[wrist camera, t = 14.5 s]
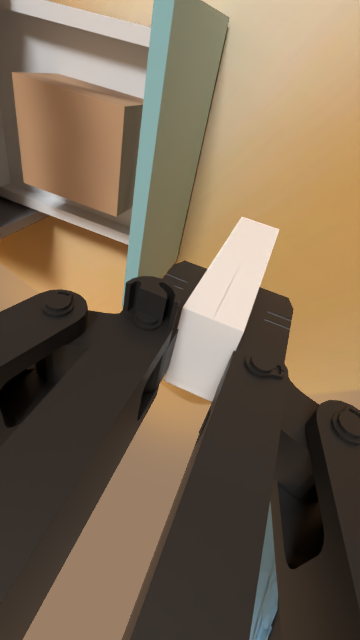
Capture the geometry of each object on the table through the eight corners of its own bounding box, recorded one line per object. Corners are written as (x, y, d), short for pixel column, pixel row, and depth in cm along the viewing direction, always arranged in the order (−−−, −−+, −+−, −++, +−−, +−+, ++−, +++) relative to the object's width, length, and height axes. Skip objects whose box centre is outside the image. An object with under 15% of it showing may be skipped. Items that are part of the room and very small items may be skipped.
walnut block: (156, 102, 20) (124, 106, 17) (144, 199, 24) (116, 216, 21) (58, 73, 21) (11, 72, 18) (61, 170, 25) (23, 182, 22)
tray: (229, 17, 17) (176, -15, 11) (176, 261, 27) (132, 310, 21) (-17, -42, 20) (-162, -94, 14) (15, 200, 29) (-63, 229, 24)
